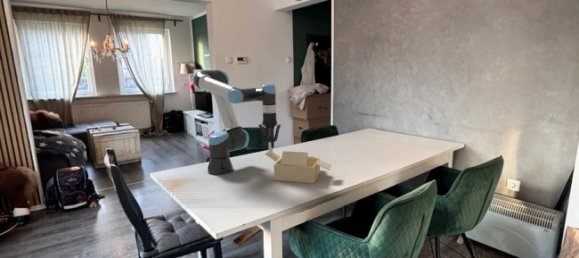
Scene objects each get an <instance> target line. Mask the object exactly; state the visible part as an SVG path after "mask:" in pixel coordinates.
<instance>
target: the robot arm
mask: <svg viewBox="0 0 579 258" xmlns="http://www.w3.org/2000/svg"><path fill="white" fill-rule="evenodd" d="M193 84H194V86H195V87H196V88H197V89H199V90H201V91H209V92H210V93H211V94H212V95H213V97H214V100H215V102H216V105H217V109H218V111H219V114H220V117H221V120H222V124H223V127H224V128H225V129H224V131H223V130H222V131H217V132H212V133H211V134H210V135H209V136H208V151H209V152H208V153H209V162H208V165H207V173H208V174H210V175H225V174H229V173H231V172H233V171H234V167H233V164H232V160H231V158H230V152H235V151H238V150H239V151H240V150H242V149H245V148H246V147H247V146H248V145H249V142H250V135H249V133H248V132H247V130H245V129H243V127H242V125H240V124H239V123H238V119H237V116H236V114H235V111H234V108H233V105H232V104H242V103H250V102H251V103H252V102H262V112H263V113H262V122H261V123H260V124H258V127H259V128H260V131H261V135H262V138H263V142H266V147H267V148H268V151H269V154H272V153H274V149H273V148H275V142H277V140H278V138H279V133H280V129H281V127H282V125H281V124H279V123H278V120H277V100H276V99H277V97H276V95H277V92H276V91H277V89H276V85H275V84H263V85H261V87H249V88H248V87H247V88H239V87H236V86H234V85H230V78H229V76H228V74H227V72H226V71H224V70H222V69H221V70H220V69H211V70H210V69H209V70H204V69H201V70H199V71H196V73H195V74H194V75H193ZM275 127H276V129H275Z"/></svg>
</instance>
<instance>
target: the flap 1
mask: <svg viewBox="0 0 579 258" xmlns="http://www.w3.org/2000/svg"><path fill="white" fill-rule="evenodd" d="M264 155H265V156H266V157H268V158H270V159H271V160H272V161H274V162H278V161H279V160H280V159H281V156H280V155H278V154H277V153H275V152H273V153H272V154H269V150H268V151H267V152H266V153H264Z"/></svg>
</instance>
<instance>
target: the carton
mask: <svg viewBox="0 0 579 258" xmlns="http://www.w3.org/2000/svg"><path fill="white" fill-rule="evenodd" d="M281 159H282V157H280V158H279V159H278V160H277V161H276V162H275V163H274V164H273V176H274V177H273V178H274V181H275V182H289V183H301V184H310V185H314V184H315V182H316V180H317V179H318V178H319V176H320V174H321V166H318V165H316V164H317V163H318V161H319V160H321V158H320V157H319V158H318V157H315V158H307V163H306V166H297V165H283V164H281Z"/></svg>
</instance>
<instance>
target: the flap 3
mask: <svg viewBox="0 0 579 258" xmlns="http://www.w3.org/2000/svg"><path fill="white" fill-rule="evenodd" d="M316 165H318V166H320V168H323V169H326V170H328V171H330V170H331V168H332V166H333V165H332V164H331V163H328V162H326V161H324V160H321V159H320V160H319V161H318V163H317V164H316Z"/></svg>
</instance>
